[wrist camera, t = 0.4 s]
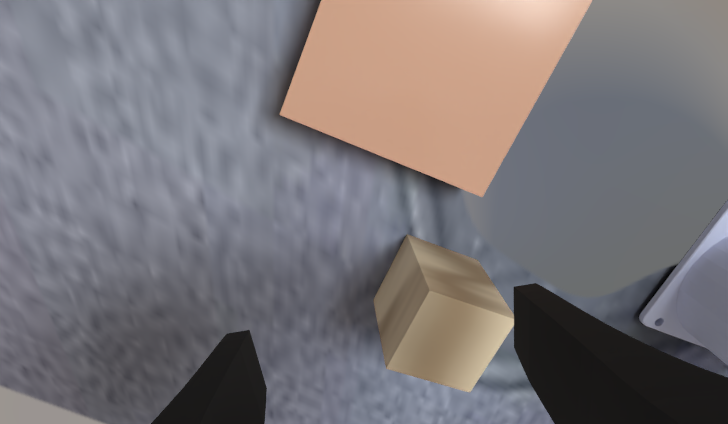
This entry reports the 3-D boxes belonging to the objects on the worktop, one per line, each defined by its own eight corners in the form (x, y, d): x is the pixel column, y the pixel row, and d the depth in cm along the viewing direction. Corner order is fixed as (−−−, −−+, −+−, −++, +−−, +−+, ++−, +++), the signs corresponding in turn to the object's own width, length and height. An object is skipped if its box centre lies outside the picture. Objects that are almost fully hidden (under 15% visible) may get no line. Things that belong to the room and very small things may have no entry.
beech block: (477, 259, 23) (517, 320, 18) (441, 321, 24) (470, 392, 19) (407, 233, 22) (429, 290, 17) (373, 299, 23) (386, 368, 18)
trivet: (568, -16, 18) (603, -21, 16) (465, 178, 21) (482, 197, 19) (369, -128, 16) (377, -152, 14) (284, 103, 19) (279, 114, 17)
